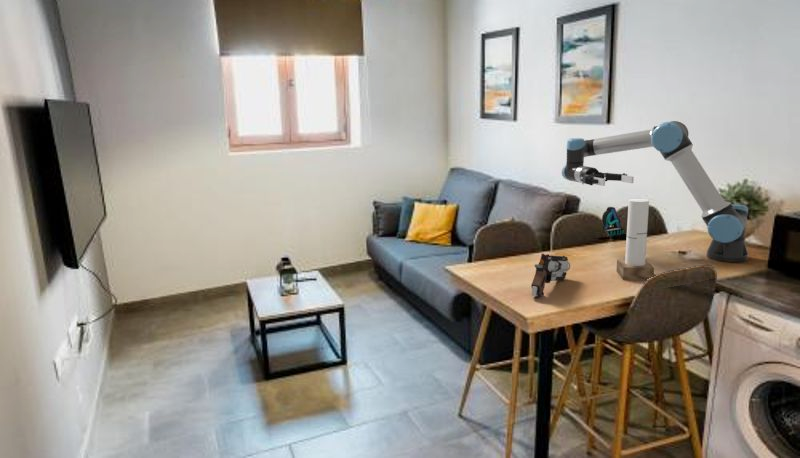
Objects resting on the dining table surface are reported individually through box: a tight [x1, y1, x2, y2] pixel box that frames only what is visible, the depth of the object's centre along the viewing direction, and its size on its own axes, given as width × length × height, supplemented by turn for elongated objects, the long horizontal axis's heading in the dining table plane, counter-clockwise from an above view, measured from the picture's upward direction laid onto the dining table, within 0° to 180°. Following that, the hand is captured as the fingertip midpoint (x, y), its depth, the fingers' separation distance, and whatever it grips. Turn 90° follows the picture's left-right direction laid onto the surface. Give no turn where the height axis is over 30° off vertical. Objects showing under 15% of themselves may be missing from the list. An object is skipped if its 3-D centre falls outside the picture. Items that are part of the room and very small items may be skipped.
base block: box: [615, 258, 655, 281], centre depth 215 cm, size 11×11×5 cm
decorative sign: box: [601, 206, 626, 238], centre depth 276 cm, size 19×2×15 cm, turn 115°
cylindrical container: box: [624, 198, 650, 266], centre depth 212 cm, size 7×7×25 cm
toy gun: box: [531, 253, 571, 297], centre depth 205 cm, size 5×28×15 cm, turn 143°
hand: (618, 181), depth 224 cm, fingers open, 13 cm apart
